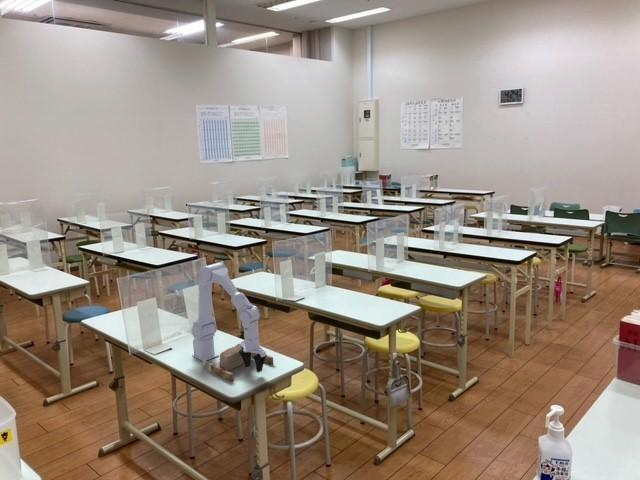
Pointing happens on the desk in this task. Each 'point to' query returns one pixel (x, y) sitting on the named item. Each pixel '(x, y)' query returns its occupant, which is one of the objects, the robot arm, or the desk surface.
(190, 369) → the desk surface
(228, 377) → the lane
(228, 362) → the brick
